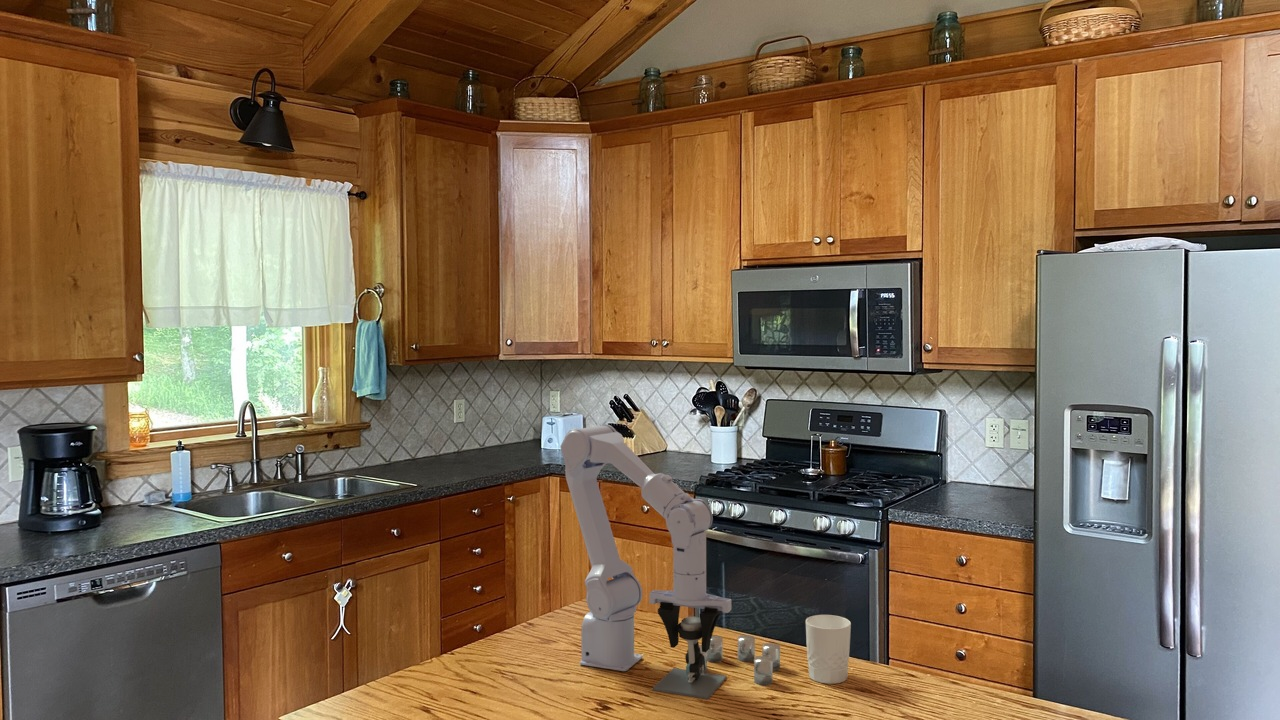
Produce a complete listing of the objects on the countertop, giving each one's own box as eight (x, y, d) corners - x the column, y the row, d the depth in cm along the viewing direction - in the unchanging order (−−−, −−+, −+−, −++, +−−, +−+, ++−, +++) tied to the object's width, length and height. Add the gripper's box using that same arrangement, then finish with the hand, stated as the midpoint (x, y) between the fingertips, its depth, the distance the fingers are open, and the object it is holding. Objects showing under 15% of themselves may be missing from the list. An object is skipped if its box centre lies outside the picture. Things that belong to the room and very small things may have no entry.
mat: (652, 690, 164) (652, 687, 164) (673, 670, 173) (673, 667, 173) (707, 699, 160) (707, 696, 160) (726, 678, 169) (726, 675, 169)
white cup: (796, 677, 169) (797, 622, 169) (820, 665, 175) (821, 611, 174) (835, 689, 164) (835, 632, 163) (858, 676, 170) (859, 621, 169)
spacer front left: (686, 671, 172) (686, 649, 172) (692, 665, 175) (692, 644, 175) (703, 674, 171) (703, 652, 171) (709, 667, 174) (709, 646, 174)
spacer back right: (760, 669, 173) (760, 647, 173) (765, 663, 176) (765, 642, 176) (777, 672, 172) (777, 650, 172) (782, 665, 175) (782, 644, 175)
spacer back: (735, 660, 178) (735, 639, 177) (740, 655, 180) (740, 634, 180) (752, 663, 176) (752, 641, 176) (756, 657, 179) (756, 636, 179)
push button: (704, 686, 163) (700, 631, 162) (674, 684, 165) (670, 629, 164) (713, 668, 170) (709, 615, 168) (685, 666, 171) (680, 613, 170)
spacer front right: (751, 683, 166) (752, 661, 166) (757, 677, 169) (757, 655, 169) (769, 686, 165) (769, 663, 165) (774, 679, 168) (774, 657, 168)
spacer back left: (703, 661, 177) (703, 639, 177) (708, 655, 180) (708, 634, 180) (719, 663, 176) (719, 642, 176) (724, 657, 179) (724, 636, 179)
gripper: (736, 569, 166) (736, 645, 167) (659, 561, 172) (660, 635, 173) (724, 579, 160) (724, 659, 160) (644, 571, 165) (644, 648, 166)
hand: (690, 647), depth 166 cm, fingers closed on push button, 5 cm apart
